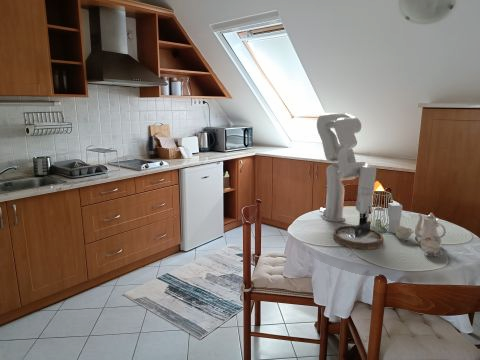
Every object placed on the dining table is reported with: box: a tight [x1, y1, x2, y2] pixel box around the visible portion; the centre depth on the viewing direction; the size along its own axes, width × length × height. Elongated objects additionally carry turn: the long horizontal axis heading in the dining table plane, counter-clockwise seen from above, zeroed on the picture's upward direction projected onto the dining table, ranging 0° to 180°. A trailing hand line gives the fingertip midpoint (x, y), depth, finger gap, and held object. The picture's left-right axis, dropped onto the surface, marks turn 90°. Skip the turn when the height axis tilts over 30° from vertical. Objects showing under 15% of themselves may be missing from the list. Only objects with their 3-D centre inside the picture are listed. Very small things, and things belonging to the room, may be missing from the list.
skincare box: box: [386, 200, 403, 233], centre depth 185 cm, size 8×6×15 cm
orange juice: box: [374, 180, 386, 192], centre depth 206 cm, size 8×9×20 cm
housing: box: [332, 225, 385, 251], centre depth 172 cm, size 23×23×3 cm
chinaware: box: [394, 212, 447, 257], centre depth 165 cm, size 28×17×17 cm, turn 20°
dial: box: [337, 219, 380, 243], centre depth 172 cm, size 20×20×7 cm
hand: (362, 225), depth 179 cm, fingers closed
